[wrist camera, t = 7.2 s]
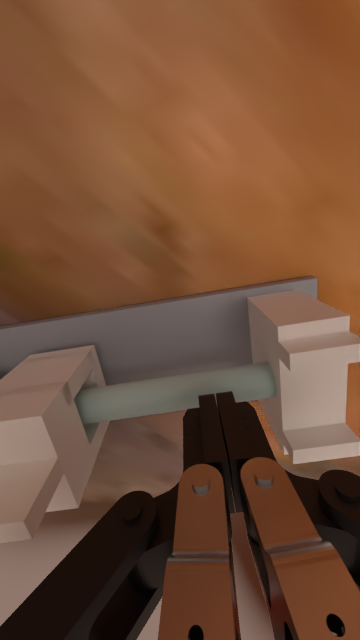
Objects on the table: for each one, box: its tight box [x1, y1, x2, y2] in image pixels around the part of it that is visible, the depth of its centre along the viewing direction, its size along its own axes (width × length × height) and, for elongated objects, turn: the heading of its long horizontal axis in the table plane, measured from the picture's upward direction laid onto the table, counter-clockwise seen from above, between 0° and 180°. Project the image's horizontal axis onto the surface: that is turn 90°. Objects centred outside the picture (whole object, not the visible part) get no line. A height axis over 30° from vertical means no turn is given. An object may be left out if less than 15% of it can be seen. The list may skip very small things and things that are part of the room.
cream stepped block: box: [0, 345, 110, 543], centre depth 12 cm, size 4×5×9 cm
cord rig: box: [0, 276, 360, 464], centre depth 15 cm, size 26×8×7 cm, turn 99°
